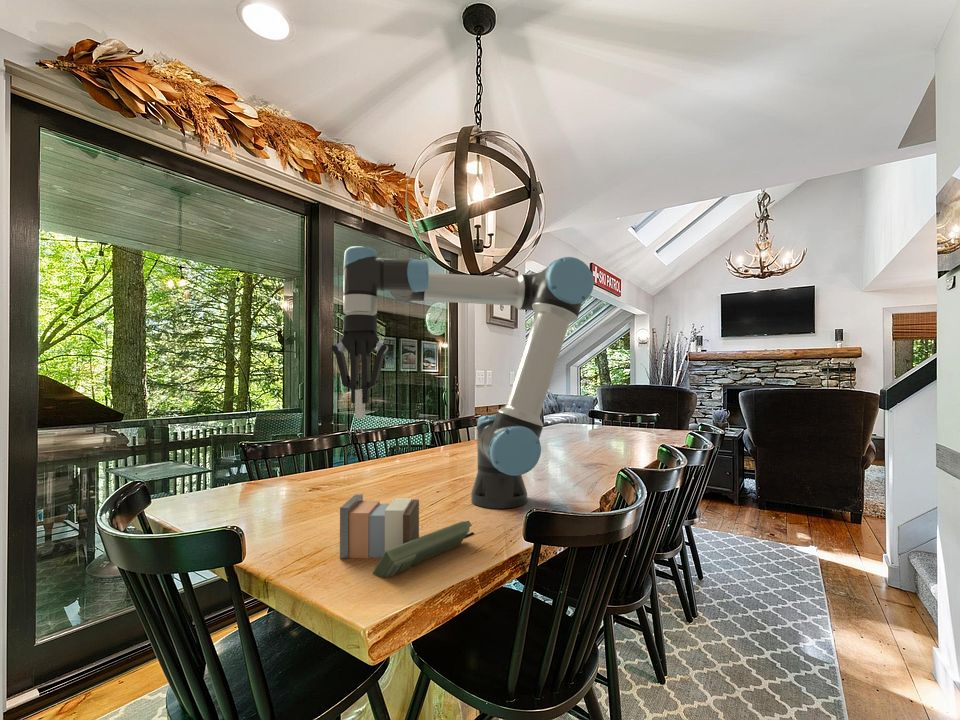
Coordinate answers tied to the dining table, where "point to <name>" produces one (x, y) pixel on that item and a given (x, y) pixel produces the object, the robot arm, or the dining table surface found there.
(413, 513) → the dark brown block piece
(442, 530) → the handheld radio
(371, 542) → the slate book
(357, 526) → the rust book
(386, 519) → the cream book
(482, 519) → the dining table surface
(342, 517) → the bookend
